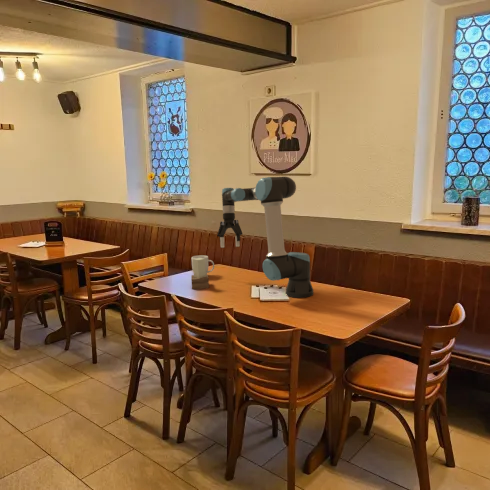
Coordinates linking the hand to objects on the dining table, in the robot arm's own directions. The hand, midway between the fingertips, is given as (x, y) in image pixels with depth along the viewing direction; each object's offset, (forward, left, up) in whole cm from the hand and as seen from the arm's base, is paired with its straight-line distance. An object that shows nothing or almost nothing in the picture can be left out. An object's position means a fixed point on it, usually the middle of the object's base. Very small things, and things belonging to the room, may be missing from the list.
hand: (230, 247), depth 269 cm
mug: (+18, +18, -22) cm, 33 cm away
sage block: (-8, +20, -16) cm, 26 cm away
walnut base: (-8, +20, -22) cm, 30 cm away
